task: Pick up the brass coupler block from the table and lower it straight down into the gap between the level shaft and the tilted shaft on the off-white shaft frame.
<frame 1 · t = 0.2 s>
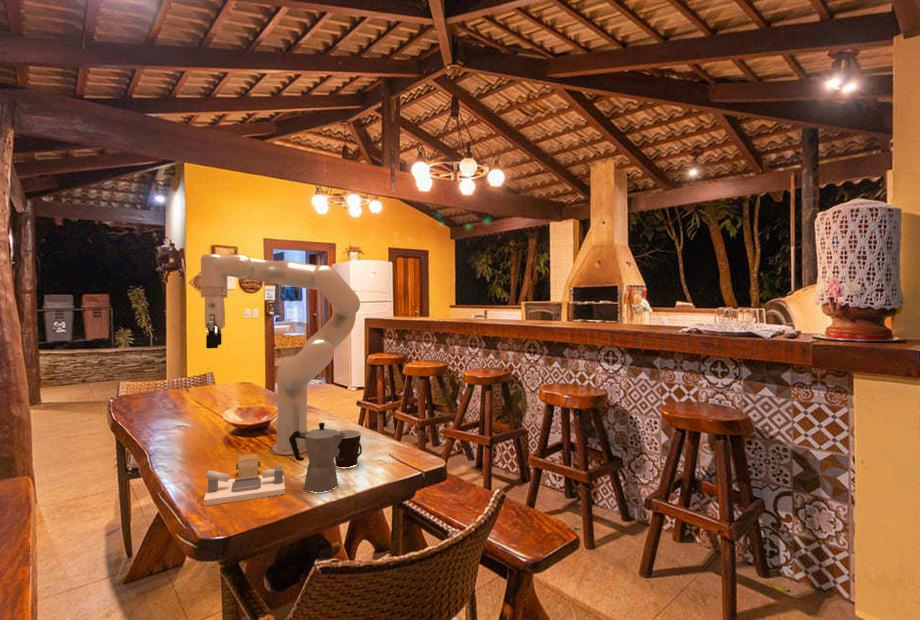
hand: (214, 346, 147), 36 cm above the table, tool pointing down, fingers open, 9 cm apart
shaft frame: (246, 490, 124), on the table
coupler: (248, 473, 136), on the table
coffeepot: (317, 487, 128), on the table
coffee mug: (347, 467, 143), on the table
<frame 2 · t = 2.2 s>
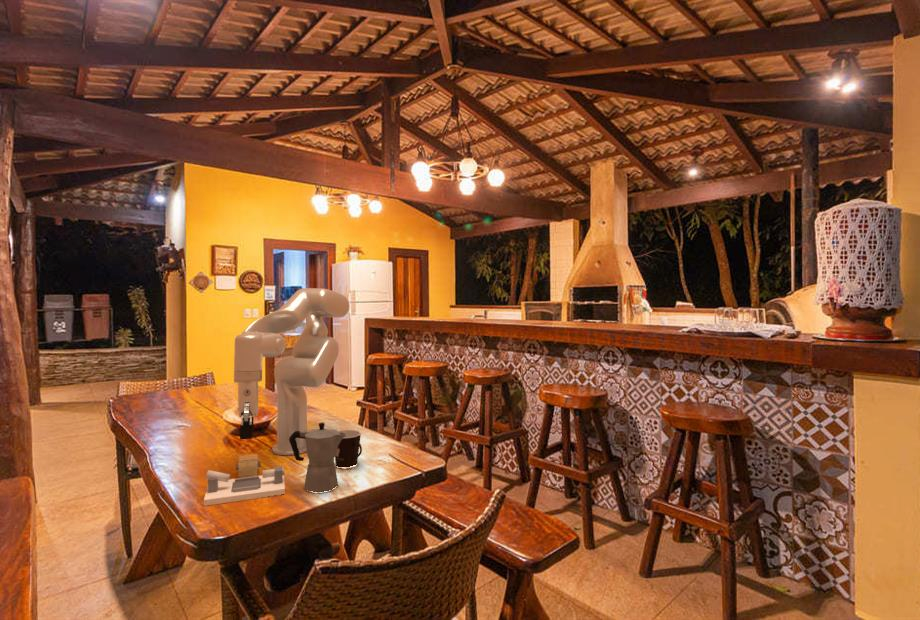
hand: (246, 434, 135), 12 cm above the table, tool pointing down, fingers open, 9 cm apart
nothing on the table moved.
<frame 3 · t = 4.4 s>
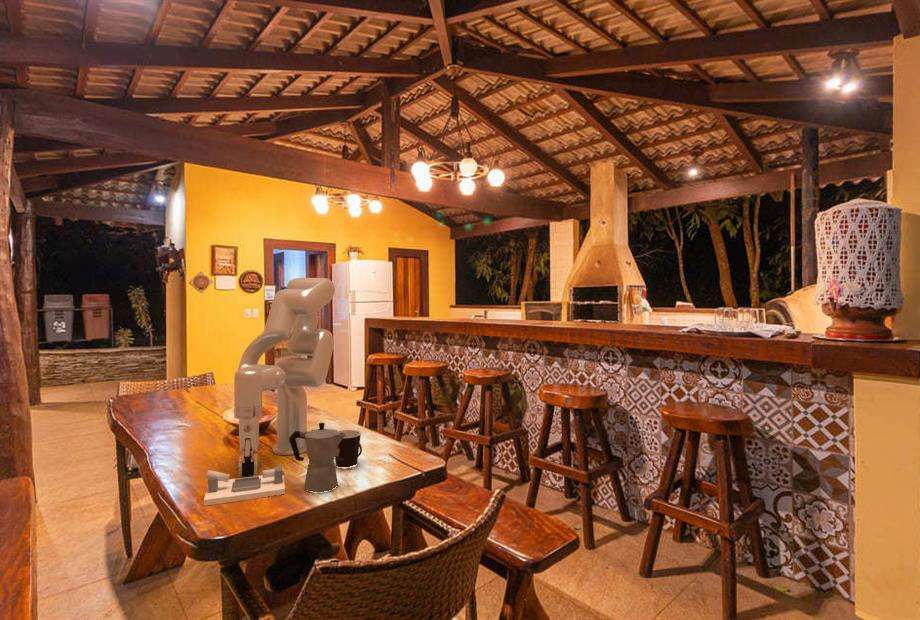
hand: (248, 471, 136), 1 cm above the table, tool pointing down, fingers closed on coupler, 4 cm apart
coupler: (248, 473, 136), on the table, touching gripper
everything else where it was.
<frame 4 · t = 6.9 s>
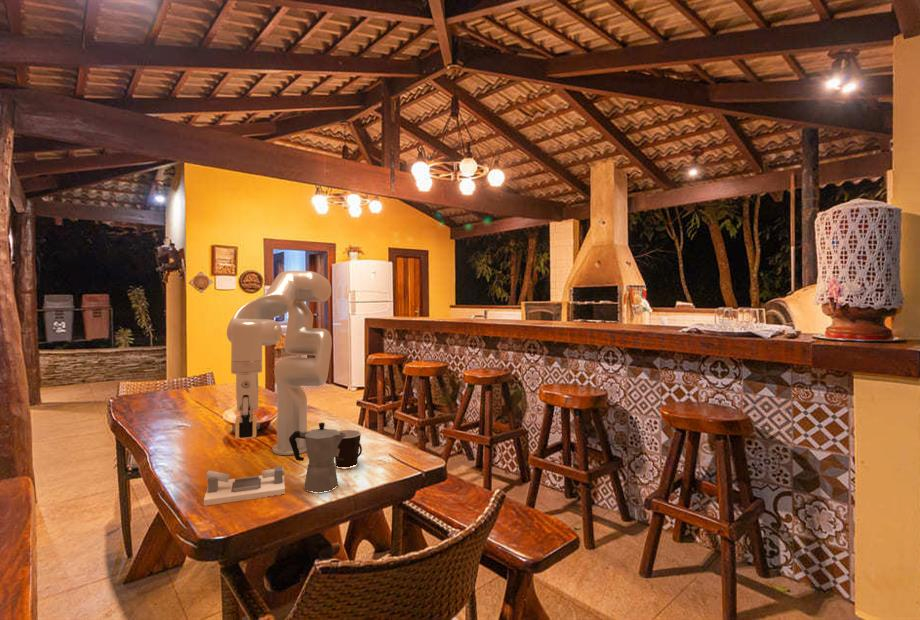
hand: (246, 433, 124), 16 cm above the table, tool pointing down, fingers closed on coupler, 4 cm apart
coupler: (246, 435, 124), point 15 cm above the table, touching gripper
everything else where it was.
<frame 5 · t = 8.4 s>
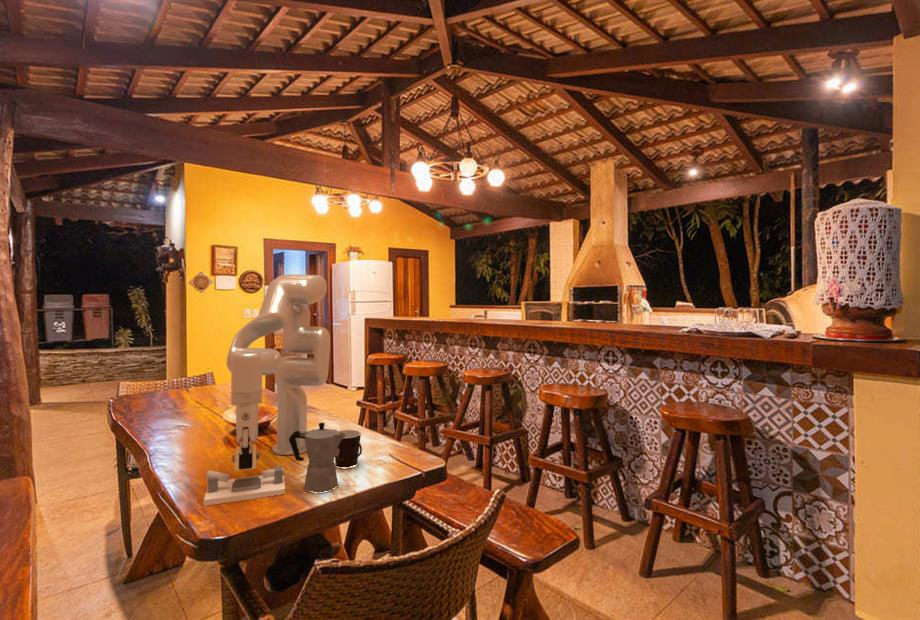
hand: (246, 464, 124), 7 cm above the table, tool pointing down, fingers closed on coupler, 4 cm apart
coupler: (245, 466, 124), point 7 cm above the table, touching gripper
everything else where it was.
when the fingers open (3 cm above the table, at t = 9.5 s): coupler stays where it is, resting on shaft frame.
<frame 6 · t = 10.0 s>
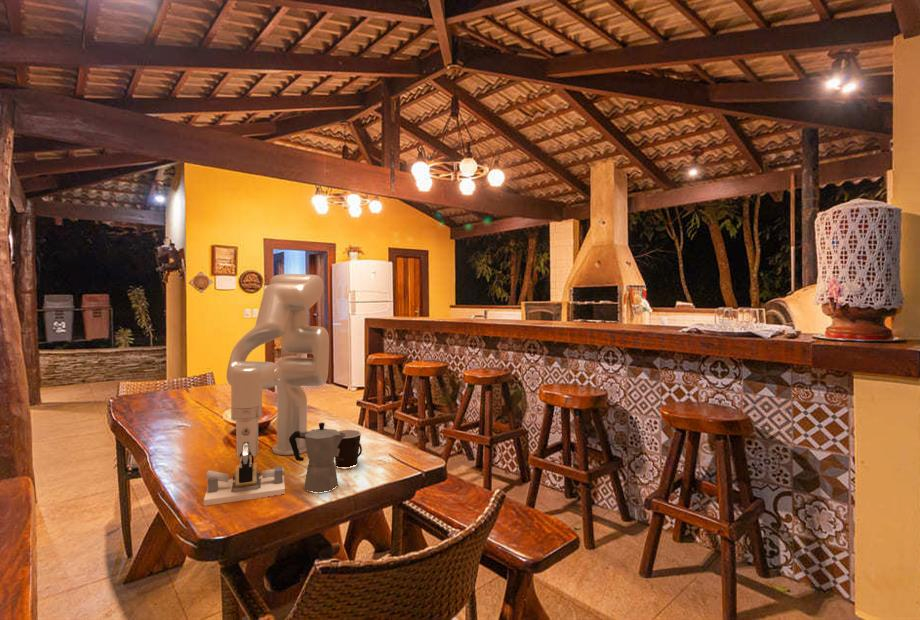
hand: (246, 475, 124), 4 cm above the table, tool pointing down, fingers open, 9 cm apart
coupler: (246, 484, 124), point 2 cm above the table, touching shaft frame
everything else where it was.
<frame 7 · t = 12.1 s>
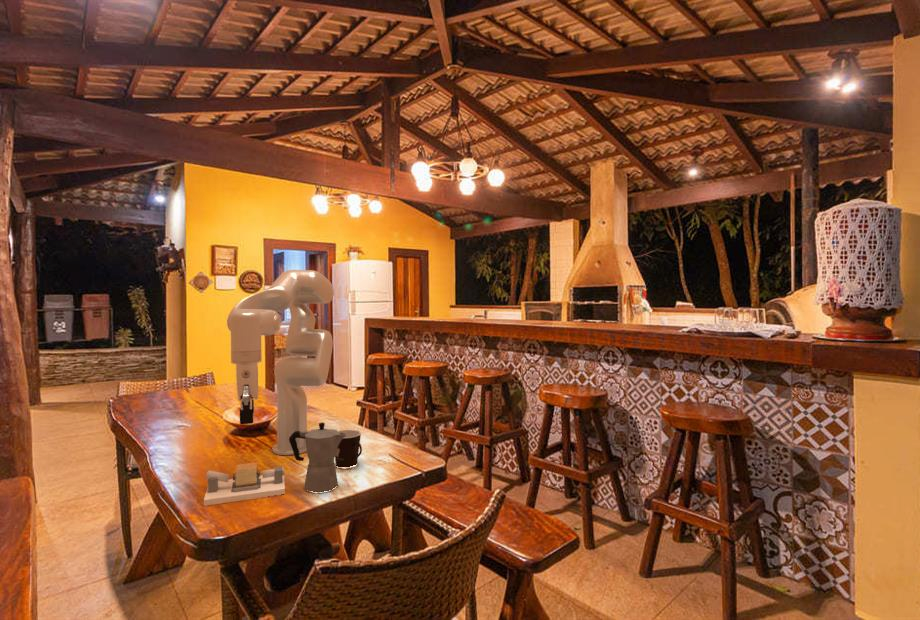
hand: (247, 418, 126), 19 cm above the table, tool pointing down, fingers open, 9 cm apart
nothing on the table moved.
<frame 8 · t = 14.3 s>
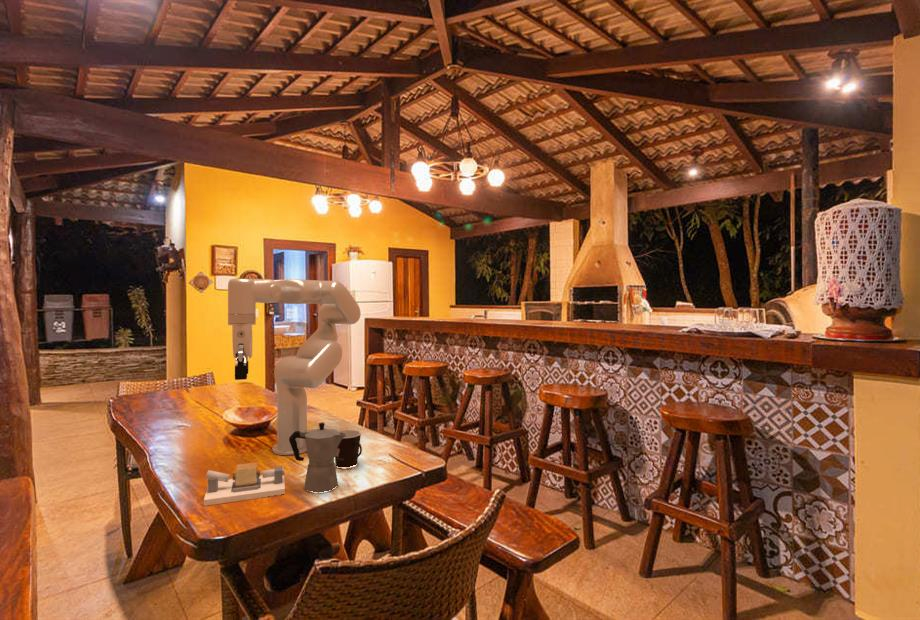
hand: (241, 376, 138), 28 cm above the table, tool pointing down, fingers open, 9 cm apart
nothing on the table moved.
at the end: coupler 0.0 cm off-centre on the shaft frame, point 1.7 cm above the shaft frame's base; coupler tilted 0°; the gripper is holding nothing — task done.
